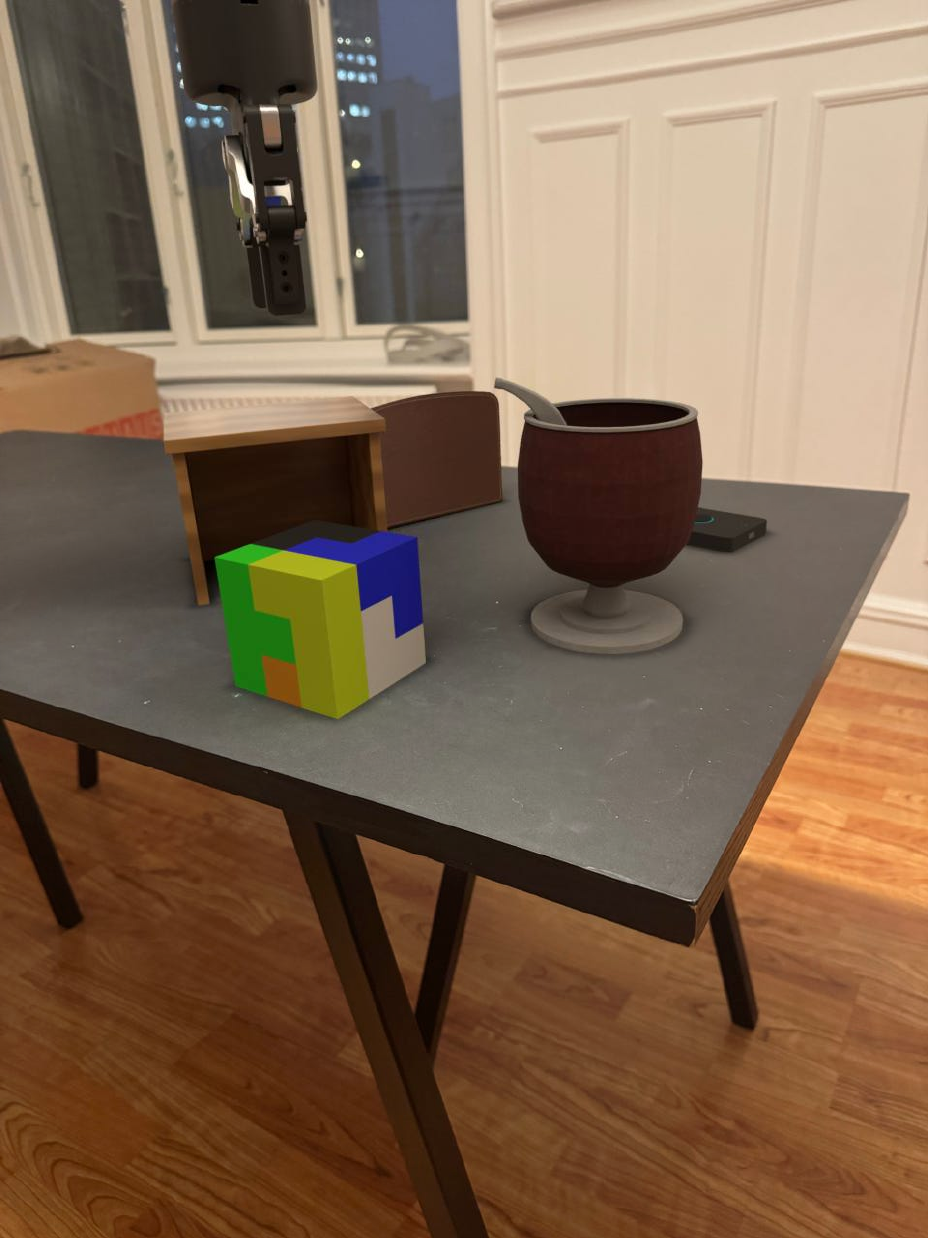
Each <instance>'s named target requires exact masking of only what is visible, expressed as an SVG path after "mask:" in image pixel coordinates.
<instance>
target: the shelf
mask: <svg viewBox="0 0 928 1238" xmlns="http://www.w3.org/2000/svg"><path fill="white" fill-rule="evenodd" d="M162 425H163V427H162V437H163V447H164V452H165V455H171V457H172V463H173V467H174V473H175V479H176V484H177V491H178V495H179V500H180V501H179V502H180V507H181V513H182V519H183V526H184V531H185V536H186V542H187V547H188V554H189V558H190V559H189V560H190V566H191V571H192V577H193V583H194V589H195V594H196V600H197V606H204V605H205V606H206V605H210V596H209V589H208V583H207V575H206V569H205V568H206V567H205V562H208V561H215V557H217V556H220V555H222V554H225V553H228V552H230V551H233V550H236V549H238V548H241V547H244V546H246V545H249V544H252V543H254V542H257V541H260V540H262V539H265V538H268V537H270V536H273V535H276V534H278V533H281V532H284V531H286V530H289V529H292V528H294V527H297V526H300V525H302V524H305V523H307V522H310V521H313V520H318V521H324V522H330V523H336V524H342V525H348V526H354V527H360V528H366V529H372V530H378V531H384V532H388V529H387V521H386V509H385V497H384V485H383V473H382V460H381V448H380V436H379V432H385V431H386V428H385V419H384V418H383V417H382V416H380V415H379V414H377V413H376V412H374V411H373V410H372V409H370V407H369V406H367V405H366V404H364V403H363V402H362V401H360V400H359V399H358V398H356V397H355V396H353V395H349V396H348V395H347V396H339V397H328V398H319V399H318V398H315V399H307V400H296V401H294V400H293V401H285V402H275V403H274V402H273V403H264V404H263V403H261V404H252V405H241V406H232V407H231V406H230V407H222V408H221V407H219V408H208V409H198V410H186V411H177V412H166V413H162Z"/></svg>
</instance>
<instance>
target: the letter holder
mask: <svg viewBox="0 0 928 1238" xmlns="http://www.w3.org/2000/svg"><path fill="white" fill-rule="evenodd" d="M369 408H370V407H369ZM370 409H372V410H373V411H374V412H376V413H377V414H379V415H380V416H382V417H383V418H384V419H385V428H386V431H385V432H379V436H380V448H381V460H382V473H383V485H384V497H385V509H386V521H387V530H389V529H394V528H397V527H401V526H406V525H409V524H413V523H418V522H422V521H427V520H431V519H435V518H440V517H444V516H450V515H453V514H457V513H460V512H465V511H470V510H473V509H478V508H483V507H486V506H490V505H491V506H492V505H494V504H498V503H502V502H503V496H504V495H503V481H502V479H503V478H502V477H503V475H502V452H501V451H502V449H501V421H500V419H501V418H500V403H499V399H498V397H497V396H496V395H495V394H494V393H493V392H491V391H484V390H483V391H481V390H480V391H478V390H460V391H445V392H444V391H443V392H433V393H425V394H420V395H414V396H409V397H405V398H401V399H398V400H394V401H390V402H389V401H388V402H386V403H383V404H379V405H376V406H374V407H371V408H370Z"/></svg>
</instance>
